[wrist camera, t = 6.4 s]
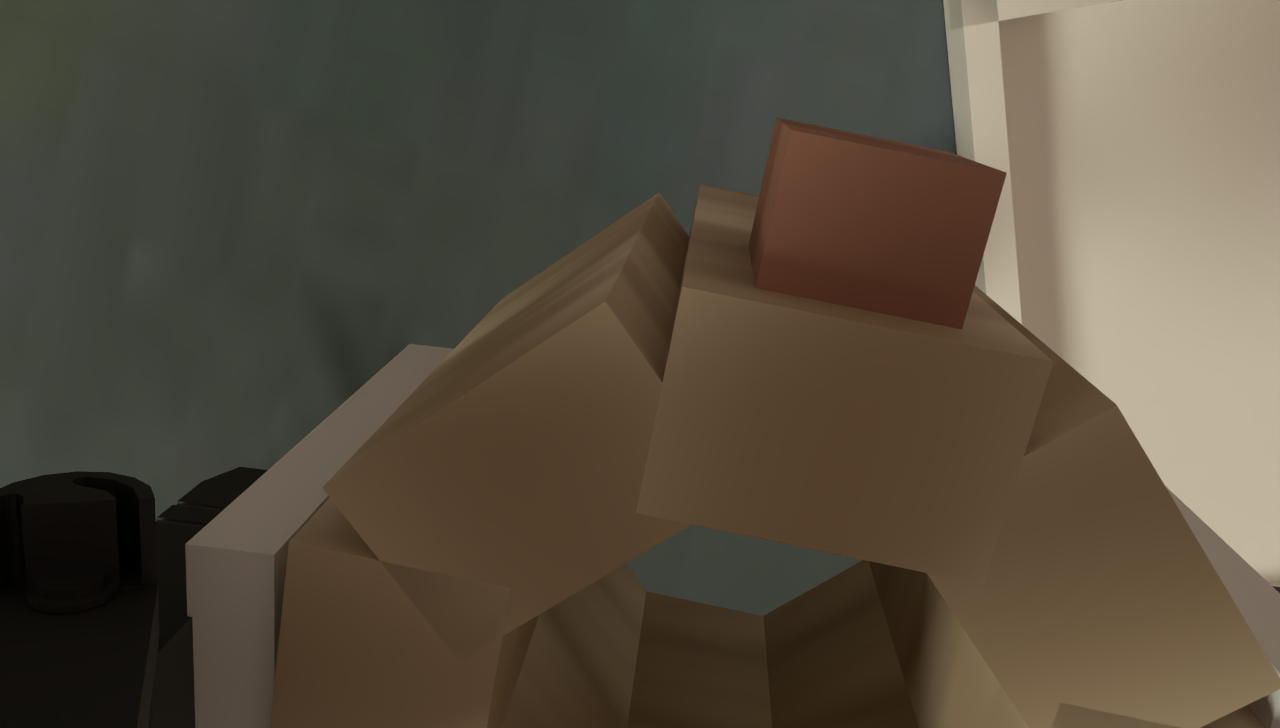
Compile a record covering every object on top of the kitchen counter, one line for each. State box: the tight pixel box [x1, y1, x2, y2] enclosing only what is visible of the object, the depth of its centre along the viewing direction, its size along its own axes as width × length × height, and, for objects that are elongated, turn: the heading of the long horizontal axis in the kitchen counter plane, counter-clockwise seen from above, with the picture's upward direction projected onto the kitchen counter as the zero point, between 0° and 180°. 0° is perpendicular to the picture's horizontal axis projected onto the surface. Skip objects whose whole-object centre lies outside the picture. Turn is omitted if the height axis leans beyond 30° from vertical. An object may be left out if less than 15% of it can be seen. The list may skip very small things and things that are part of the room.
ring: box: [270, 118, 1280, 728], centre depth 12 cm, size 8×9×7 cm
